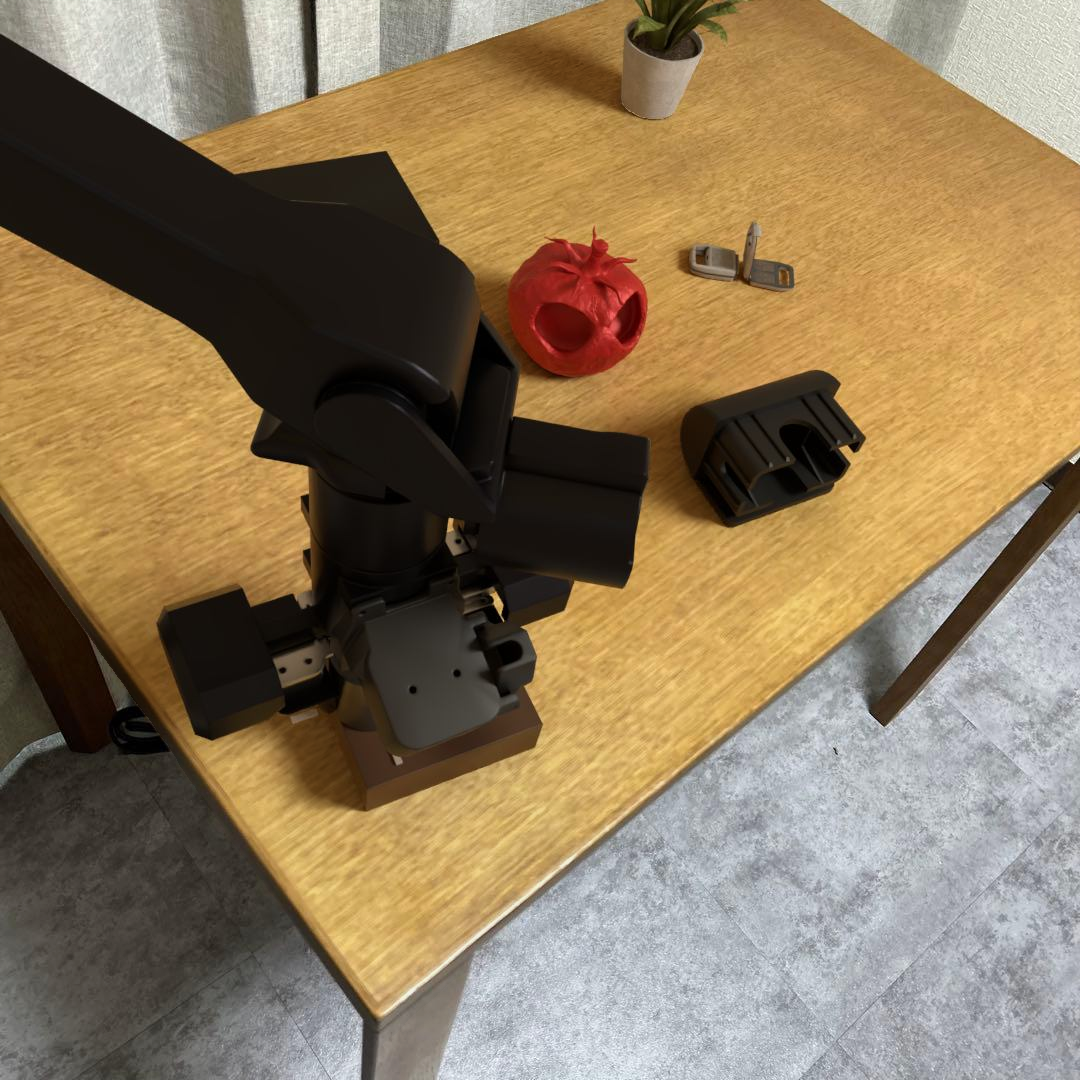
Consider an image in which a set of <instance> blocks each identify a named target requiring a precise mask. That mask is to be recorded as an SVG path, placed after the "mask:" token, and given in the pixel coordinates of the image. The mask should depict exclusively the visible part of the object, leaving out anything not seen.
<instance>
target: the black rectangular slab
mask: <svg viewBox="0 0 1080 1080" xmlns="http://www.w3.org/2000/svg"><path fill="white" fill-rule="evenodd" d="M234 174H235V175H236V176H238V177H240V178H241V179H243V180H245V181H246V182H248V183H250V184H252V185H254V186H256V187H259V188H261V189H263V190H266V191H268V192H270V193H272V194H275V195H277V196H279V197H281V198H284V199H287V200H296V201H311V202H326V203H341V204H350V205H355V206H358V207H360V208H362V209H364V210H367V211H369V212H371V213H373V214H376V215H378V216H380V217H382V218H384V219H387V220H389V221H391V222H393V223H396V224H398V225H400V226H402V227H405V228H407V229H409V230H411V231H413V232H416V233H418V234H420V235H422V236H425V237H427V238H429V239H431V240H433V241H435V242H437V243H439V244H441V243H440V242H441V241H440V238H439V237H438V235H437V234H436V232H435V230H434V228H433V227H432V225H431V224H430V222H429V220H428V218H427V216H426V215H425V213H424V211H423V210H422V208H421V206H420V205H419V203H418V201H417V200H416V198H415V196H414V195H413V193H412V191H411V189H410V188H409V186H408V184H407V183H406V181H405V180H404V178H403V176H402V174H401V172H400V171H399V169H398V168H397V166H396V164H395V163H394V160H393V159H392V158H391V155H390V154H389V153H388V151H387V150H381V151H375V152H368V153H361V154H356V155H349V156H343V157H336V158H330V159H323V160H316V161H310V162H305V163H299V164H292V165H284V166H278V167H272V168H265V169H259V170H253V171H247V172H241V173H234Z"/></svg>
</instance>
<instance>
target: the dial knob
mask: <svg viewBox="0 0 1080 1080" xmlns="http://www.w3.org/2000/svg"><path fill="white" fill-rule="evenodd" d="M329 639H331V638H329ZM328 672H329V674H330V676H331V679H332V681H333V683H334V685H335V688H336V690H337V692H338V694H339V697H337V698H335V700H336V707H335V712H334V714H335V716H336V717H337V718H338V719H339V720H340V721H341V722H343V723H344V724H345V725H347V726H349V727H351V728H353V729H357V730H361V731H377V727H376V725H375V722H374V719H373V717H372V714H371V711H370V709H369V706H368V703H367V701H366V698H365V695H364V693H363V690H362V687H361V685H360V682H359V678H358V677H356V676H354V675H353V674H352V673H351V671H350V669H348V670H345V671H343V672H341V671H340V669H339V666H338V664H337V662H336V660H335V657H334V656H332V657H329V658H328Z"/></svg>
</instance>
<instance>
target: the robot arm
mask: <svg viewBox="0 0 1080 1080" xmlns="http://www.w3.org/2000/svg"><path fill="white" fill-rule="evenodd" d="M235 174H236V173H233V172H232V171H230V170H229V169H227V168H225V167H224V166H221V165H220V164H218V163H217V162H215V161H214V160H212V159H210V158H208V157H207V156H205V155H203V154H201V153H200V152H198V151H197V150H196V149H194V148H191V147H190V146H188V145H187V144H186V143H184V142H182V141H180V140H178V139H177V138H176V137H173V136H172V135H170V134H169V133H167V132H165V131H163V129H160V128H158V127H157V126H155V125H153V124H152V123H150V122H149V121H146V120H145V119H143V118H142V117H140V116H138V115H137V114H135V113H133V112H132V111H130V110H128V109H127V108H125V107H124V106H122V105H120V104H119V103H118V102H115V101H114V100H112V99H111V98H109V97H107V96H105V95H103V94H102V93H100V92H99V91H97V90H95V89H94V88H92V87H90V86H89V85H87V84H85V83H84V82H82V81H80V80H79V79H77V78H75V77H74V76H72V75H71V74H69V73H67V72H65V71H64V70H62V69H60V68H59V67H57V66H56V65H54V64H52V63H51V62H49V61H47V60H46V59H44V58H42V57H40V56H39V55H37V54H36V53H34V52H32V51H30V50H29V49H27V48H25V47H23V46H22V45H21V44H19V43H18V42H15V41H14V40H12V39H10V38H9V37H8V36H5V35H4V34H2V33H1V32H0V228H2V229H4V230H6V231H8V232H10V233H12V234H14V235H15V236H17V237H19V238H21V239H23V240H25V241H27V242H29V243H31V244H33V245H34V246H36V247H38V248H40V249H42V250H43V251H46V252H48V253H49V254H51V255H53V256H55V257H57V258H59V259H61V260H63V261H65V262H66V263H69V264H70V265H72V266H74V267H76V268H78V269H80V270H82V271H83V272H86V273H87V274H89V275H91V276H93V277H95V278H97V279H99V280H100V281H102V282H104V283H105V284H108V285H109V286H112V287H114V288H116V289H118V290H119V291H121V292H123V293H125V294H127V295H129V296H131V297H132V298H134V299H136V300H138V301H140V302H141V303H144V304H146V305H147V306H149V307H152V308H153V309H155V310H157V311H159V312H161V313H162V314H165V315H166V316H168V317H170V318H171V319H174V320H176V321H177V322H179V323H181V324H182V325H184V326H185V327H187V328H188V329H190V330H191V331H193V332H194V333H195V334H197V335H198V336H199V337H201V338H203V339H204V340H205V341H207V342H209V343H210V345H211V346H212V347H213V348H214V350H215V351H216V352H217V354H218V355H219V357H220V359H222V361H223V362H224V364H225V366H226V367H227V368H228V370H229V371H230V373H231V374H232V375H233V377H234V378H235V379H236V381H237V382H238V384H239V385H240V387H241V388H242V389H243V391H244V392H245V394H246V395H247V396H248V397H249V399H250V400H251V401H252V402H253V404H255V405H257V406H258V407H259V408H260V409H262V410H261V414H260V417H259V420H258V423H257V425H256V428H255V431H254V434H253V437H252V440H251V442H250V445H249V450H250V452H251V454H253V455H254V456H255V457H256V458H260V459H265V460H269V461H270V460H271V461H276V462H281V463H288V464H293V465H297V466H298V465H299V466H302V467H303V466H304V467H307V474H308V478H307V479H308V493H305V494H304V495H300V498H299V499H300V511H301V513H302V515H303V517H304V520H305V522H306V524H307V526H308V528H309V542H310V543H309V544H310V545H309V546H310V547H309V548H306V549H303V550H302V564H303V566H304V568H305V570H306V572H307V574H308V577H309V579H310V582H311V589H308V590H305V591H302V592H300V593H298V594H297V595H296V596H295V593H293V592H291V593H289V594H286V595H282V596H279V597H277V598H273V599H271V600H267V601H264V602H261V603H257V604H256V605H252V606H251V604H250V601H249V600H248V598H247V595H246V593H245V589H244V587H242V586H241V585H240V584H239V583H238V582H236V583H232V584H229V585H226V586H224V587H220V588H217V589H213V590H210V591H208V592H204V593H202V594H198V595H195V596H192V597H189V598H186V599H182V600H179V601H176V602H173V603H170V604H167V605H164V606H163V608H162V610H161V612H160V613H159V616H158V618H157V620H156V622H155V624H156V628H157V633H158V637H159V640H160V643H161V646H162V649H163V652H164V654H165V657H166V660H167V662H168V665H169V668H170V671H171V674H172V676H173V679H174V682H175V684H176V686H177V690H178V692H179V695H180V697H181V701H182V703H183V706H184V708H185V711H186V714H187V717H188V720H189V722H190V726H191V728H192V731H193V733H194V735H195V736H198V737H200V738H202V739H205V740H208V741H211V742H213V741H216V740H219V739H221V738H224V737H226V736H229V735H231V734H234V733H238V732H240V731H243V730H245V729H248V728H251V727H253V726H254V727H255V726H257V725H259V724H263V723H264V722H268V721H269V720H270V719H272V718H273V717H274V716H276V714H279V715H281V716H290V715H293V714H296V713H299V712H302V711H304V710H307V709H310V708H312V707H315V706H317V708H319V709H320V710H321V711H322V712H324V713H325V714H326V715H327V714H331V713H334V712H335V707H336V700H335V698H337V697H339V694H338V692H337V690H336V688H335V685H334V683H333V681H332V679H331V676H330V674H329V672H328V670H327V667H326V665H325V660H326V659H327V658H329V657H332V656H334V657H335V660H336V662H337V664H338V666H339V669H340V671H341V672H343V671H345V670H348V669H350V671H351V673H352V674H353V675H354V676H356V677H358V678H359V682H360V685H361V687H362V690H363V693H364V695H365V698H366V701H367V703H368V706H369V709H370V711H371V714H372V717H373V719H374V722H375V725H376V727H377V731H378V735H379V738H380V741H381V743H382V745H383V747H384V748H385V749H386V750H387V751H388V752H389V753H390V754H392V755H394V756H397V757H408V756H411V755H414V754H416V753H419V752H421V751H424V750H426V749H429V748H431V747H433V746H436V745H438V744H441V743H443V742H446V741H448V740H451V739H453V738H456V737H458V736H461V735H464V734H466V733H469V732H471V731H473V730H475V729H477V728H479V727H481V726H483V725H485V724H487V723H489V722H491V721H492V720H493V719H494V718H496V717H498V716H501V715H503V714H506V713H508V712H511V711H513V710H515V709H518V708H520V700H519V697H518V689H519V688H520V687H523V686H524V687H525V686H527V685H529V684H530V683H531V684H532V682H533V680H534V678H535V672H536V665H537V659H538V655H537V652H536V650H535V648H534V645H533V643H532V640H531V637H530V635H529V633H528V630H527V629H525V628H524V627H525V626H527V625H530V624H533V623H536V622H538V621H541V620H544V619H547V618H549V617H552V616H554V615H557V614H560V613H562V612H565V610H566V607H567V605H568V602H569V600H570V596H571V593H572V590H573V587H574V584H575V582H579V583H585V584H592V585H597V586H602V587H608V588H614V589H619V590H623V589H624V588H625V587H626V585H627V583H628V582H629V579H630V576H631V574H632V571H633V568H634V563H635V562H634V561H635V552H636V551H635V550H636V549H635V548H636V536H637V531H638V527H639V522H640V521H639V520H640V515H641V509H642V504H643V497H644V493H645V491H646V488H647V485H648V482H649V479H650V466H651V464H650V463H651V449H652V440H650V438H649V437H648V436H643V435H638V434H633V433H627V432H620V431H600V430H599V431H598V430H592V429H585V428H580V427H576V426H570V425H564V424H560V423H554V422H549V421H544V420H538V419H533V418H527V417H521V416H517V415H514V413H515V407H516V401H517V394H518V389H519V382H520V377H521V372H522V371H521V370H522V364H521V361H520V360H519V359H518V358H517V356H516V355H515V354H514V353H513V351H512V350H511V348H510V347H509V346H508V344H507V342H506V341H505V339H503V337H502V336H501V334H500V333H499V331H498V330H497V329H496V327H495V326H494V324H493V323H492V322H491V320H490V319H489V318H488V316H487V315H486V313H485V312H484V310H483V309H482V304H481V300H480V296H479V293H478V289H477V286H476V284H475V279H476V277H475V274H474V273H473V271H472V270H471V268H469V267H468V266H467V265H468V264H466V263H465V261H463V260H462V259H461V258H460V257H459V256H458V255H456V253H454V252H453V251H452V250H451V249H450V248H448V247H446V246H445V245H443V244H441V243H440V244H439V243H437V242H435V241H433V240H431V239H429V238H427V237H425V236H422V235H420V234H418V233H416V232H413V231H411V230H409V229H407V228H405V227H402V226H400V225H398V224H396V223H393V222H391V221H389V220H387V219H384V218H382V217H380V216H378V215H376V214H373V213H371V212H369V211H367V210H364V209H362V208H360V207H358V206H355V205H350V204H341V203H326V202H311V201H296V200H287V199H284V198H281V197H279V196H277V195H275V194H272V193H270V192H268V191H266V190H263V189H261V188H259V187H256V186H254V185H252V184H250V183H248V182H246V181H245V180H243V179H241V178H240V177H238V176H236V175H235ZM450 519H452V528H453V530H450V531H448V527H449V520H450ZM492 594H496V595H497V596H498V598H499V599H500V601H501V603H502V609H501V613H499V611H498V609H497V607H496V606H495V599H494V597H493V595H492ZM329 638H331V639H329ZM320 641H323V642H320Z"/></svg>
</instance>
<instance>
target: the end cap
mask: <svg viewBox="0 0 1080 1080" xmlns="http://www.w3.org/2000/svg"><path fill="white" fill-rule="evenodd" d="M841 386H842V383H841V381H839V379H837V378H836V376H834V375H833V374H831V373H829V372H828V371H825V370H822V369H810V370H807V371H804V372H800V373H797V374H793V375H790V376H787V377H784V378H781V379H777V380H774V381H770V382H768V383H765V384H760V385H757V386H754V387H751V388H748V389H745V390H741V391H738V392H735V393H731V394H728V395H725V396H722V397H717V398H715V399H711V400H708V401H706V402H701V403H699V404H695V405H693V406H692V407H690V408H689V409H688V410H687V411H686V412H685V413H684V416H683V417H682V420H681V423H680V430H679V443H680V450H681V454H682V457H683V460H684V463H685V467H686V468H687V470H688V472H689V474H690V476H691V477H692V479H693V480H694V481H695V484H696V486H697V488H699V490H700V491H701V493H702V494H703V496H704V497H705V498H706V500H707V502H708V503H709V504H710V506H711V508H713V510H714V512H715V513H716V514H717V515H718V517H719V518H720V520H721V521H722V523H723V524H724V525H725V526H727V527H729V528H736V527H739V526H741V525H744V524H747V523H750V522H752V521H756V520H758V519H761V518H763V517H766V516H769V515H772V514H775V513H778V512H780V511H783V510H785V509H786V510H787V509H789V508H791V507H794V506H797V505H800V504H802V503H805V502H809V501H811V500H814V499H816V498H819V497H822V496H825V495H827V494H830V493H831V492H832V490H833V489H834V487H835V485H836V484H835V483H838V482H839V481H840V480H842V478H844V477H845V475H846V474H847V472H848V470H849V468H850V467H851V465H852V463H851V462H850V461H849V459H848V458H847V456H846V455H845V454H844V453H843V451H842V450H841V449H840V448H843V447H848V449H850V451H851V452H852V453H853V454H857V453H859V452H860V450H861V449H862V447H863V446H864V444H865V442H866V440H867V436H866V435H865V434H864V433H863V432H862V430H861V429H860V428H859V427H858V426H857V425H856V423H855V422H854V421H853V419H852V418H851V417H850V416H849V415H848V413H847V412H846V411H845V410H844V408H843V407H842V406H841V405H840V403H838V401H837V400H836V399H835V397H836V395H837V393H838V391H839V390H840V387H841Z"/></svg>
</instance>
